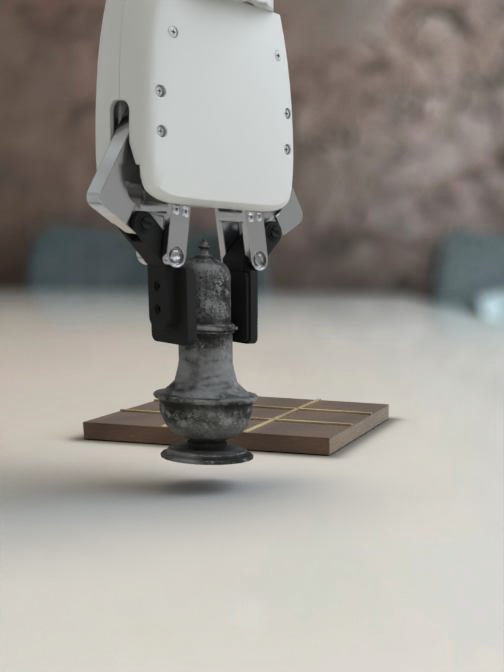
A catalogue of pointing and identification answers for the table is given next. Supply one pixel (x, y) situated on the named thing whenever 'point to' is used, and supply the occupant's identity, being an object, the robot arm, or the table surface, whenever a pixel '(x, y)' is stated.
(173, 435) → the board
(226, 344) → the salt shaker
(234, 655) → the table surface
